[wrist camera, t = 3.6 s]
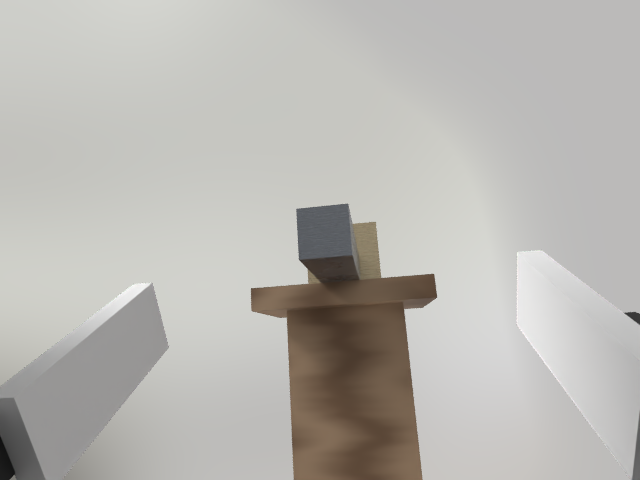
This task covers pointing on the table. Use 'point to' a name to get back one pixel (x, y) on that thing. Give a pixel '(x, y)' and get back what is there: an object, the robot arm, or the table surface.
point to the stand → (350, 375)
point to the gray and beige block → (336, 245)
